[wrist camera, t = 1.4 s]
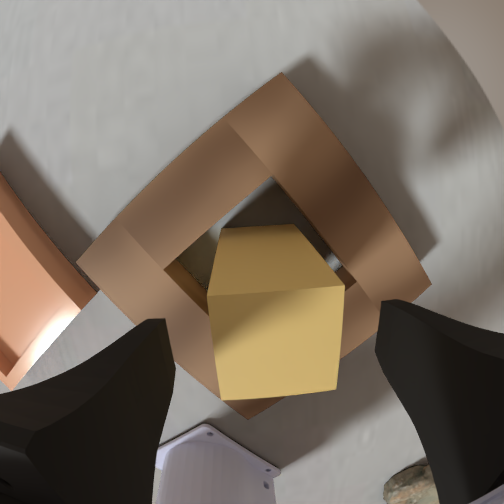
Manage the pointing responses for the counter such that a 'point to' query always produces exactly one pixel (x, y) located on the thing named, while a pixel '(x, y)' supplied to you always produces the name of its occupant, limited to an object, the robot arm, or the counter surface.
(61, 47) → the counter surface
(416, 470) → the long grey stone
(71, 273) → the tray
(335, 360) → the peg
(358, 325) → the socket block
